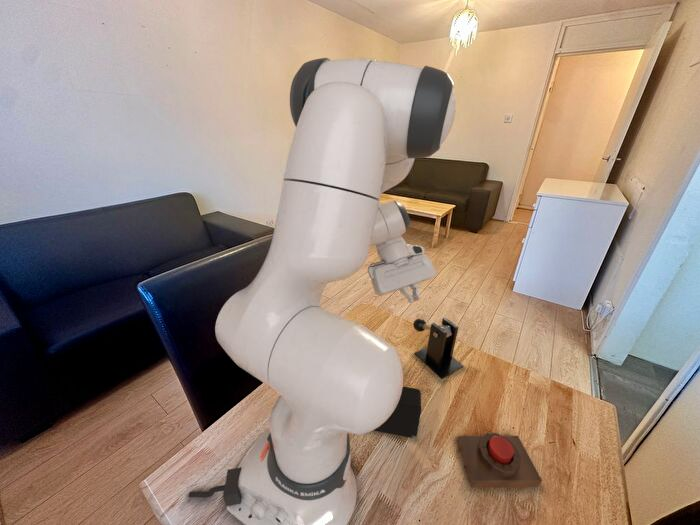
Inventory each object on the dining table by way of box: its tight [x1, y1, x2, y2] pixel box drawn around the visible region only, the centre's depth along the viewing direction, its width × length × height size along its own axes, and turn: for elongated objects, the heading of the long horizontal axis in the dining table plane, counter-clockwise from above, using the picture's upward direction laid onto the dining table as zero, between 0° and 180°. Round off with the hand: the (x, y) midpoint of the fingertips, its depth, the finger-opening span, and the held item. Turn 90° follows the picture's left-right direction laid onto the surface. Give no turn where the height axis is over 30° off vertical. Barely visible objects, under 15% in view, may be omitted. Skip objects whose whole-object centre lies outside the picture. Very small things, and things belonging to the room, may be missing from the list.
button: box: [488, 436, 514, 464], centre depth 52 cm, size 4×4×2 cm
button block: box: [457, 432, 543, 489], centre depth 53 cm, size 12×8×4 cm, turn 90°
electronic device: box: [372, 386, 422, 439], centre depth 59 cm, size 4×10×10 cm, turn 78°
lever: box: [412, 318, 452, 338], centre depth 76 cm, size 12×4×4 cm, turn 30°
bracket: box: [414, 317, 464, 380], centre depth 74 cm, size 10×8×13 cm
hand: (414, 301), depth 79 cm, fingers closed
